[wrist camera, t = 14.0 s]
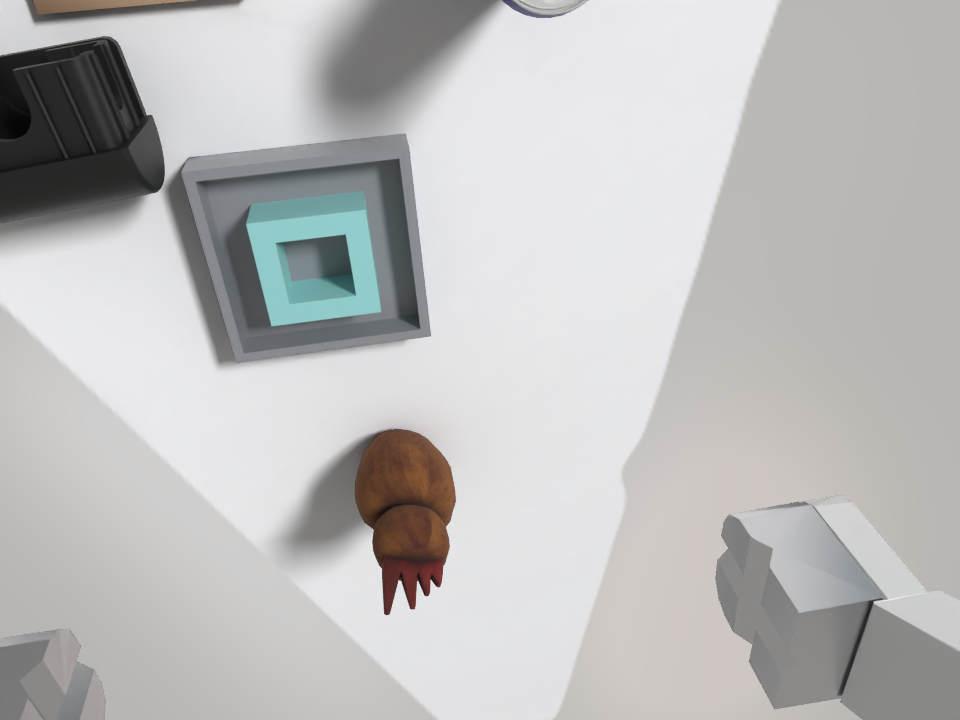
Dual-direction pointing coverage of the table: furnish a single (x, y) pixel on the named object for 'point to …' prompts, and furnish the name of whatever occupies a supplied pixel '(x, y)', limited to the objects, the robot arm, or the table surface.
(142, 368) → the table surface
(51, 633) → the robot arm
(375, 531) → the wooden figurine
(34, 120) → the end cap
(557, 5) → the energy drink
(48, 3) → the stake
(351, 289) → the ring
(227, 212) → the tray
